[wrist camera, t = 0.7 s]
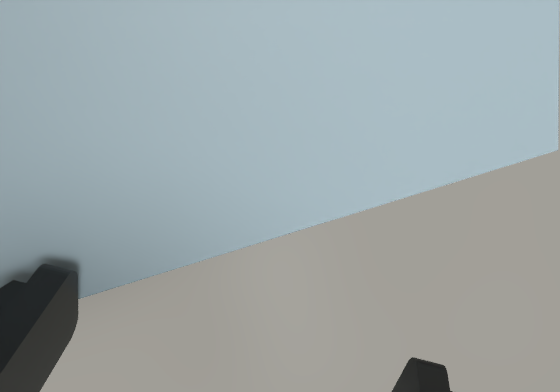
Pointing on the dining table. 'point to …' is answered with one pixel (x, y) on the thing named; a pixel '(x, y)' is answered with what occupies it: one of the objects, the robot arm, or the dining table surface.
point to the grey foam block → (249, 119)
